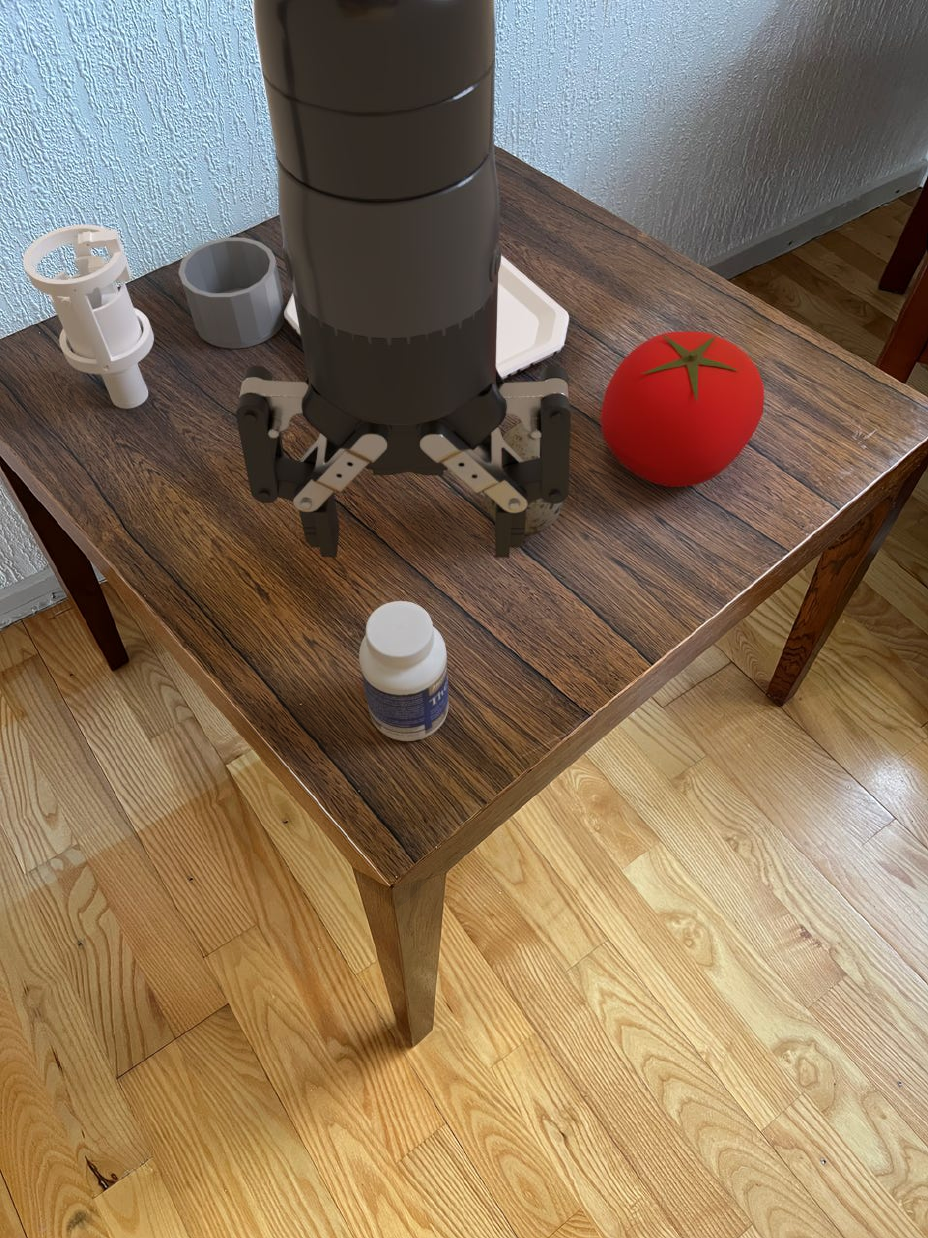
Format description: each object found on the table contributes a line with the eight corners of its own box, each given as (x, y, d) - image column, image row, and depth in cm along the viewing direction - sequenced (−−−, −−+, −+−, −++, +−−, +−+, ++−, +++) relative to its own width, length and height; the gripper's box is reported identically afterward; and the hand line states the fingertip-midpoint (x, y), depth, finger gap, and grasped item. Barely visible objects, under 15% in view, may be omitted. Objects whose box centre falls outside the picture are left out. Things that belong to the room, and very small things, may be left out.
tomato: (569, 469, 76) (581, 366, 67) (649, 384, 81) (669, 278, 73) (694, 535, 72) (723, 435, 63) (769, 441, 78) (806, 336, 69)
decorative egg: (558, 492, 75) (569, 396, 66) (564, 552, 71) (576, 459, 63) (482, 494, 75) (483, 398, 66) (485, 554, 71) (486, 461, 63)
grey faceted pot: (187, 349, 85) (171, 296, 80) (202, 289, 89) (187, 237, 85) (280, 348, 85) (268, 296, 80) (290, 289, 89) (280, 236, 85)
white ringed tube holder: (173, 418, 80) (116, 261, 67) (87, 431, 79) (13, 275, 67) (170, 362, 84) (116, 204, 71) (88, 374, 83) (19, 217, 71)
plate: (590, 351, 84) (592, 330, 82) (389, 450, 78) (387, 430, 76) (457, 234, 93) (457, 213, 92) (270, 314, 87) (265, 293, 85)
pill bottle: (448, 744, 63) (444, 667, 55) (366, 743, 63) (350, 666, 55) (450, 673, 66) (446, 590, 58) (372, 672, 66) (357, 590, 58)
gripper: (586, 201, 36) (555, 488, 50) (213, 200, 37) (282, 487, 50) (599, 331, 32) (562, 606, 46) (177, 330, 32) (264, 605, 46)
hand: (415, 544), depth 48 cm, fingers open, 8 cm apart
